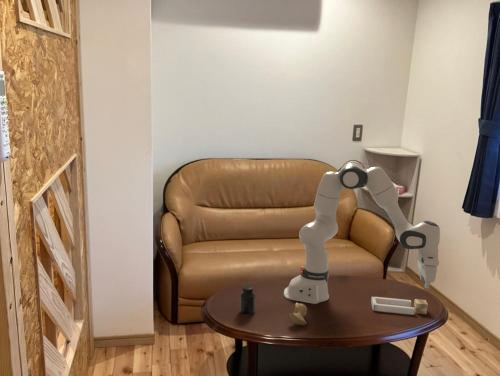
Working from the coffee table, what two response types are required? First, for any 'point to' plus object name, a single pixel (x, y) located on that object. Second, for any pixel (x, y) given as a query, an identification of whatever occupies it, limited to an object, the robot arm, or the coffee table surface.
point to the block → (420, 306)
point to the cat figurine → (299, 314)
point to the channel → (392, 305)
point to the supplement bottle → (247, 300)
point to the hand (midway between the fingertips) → (424, 284)
